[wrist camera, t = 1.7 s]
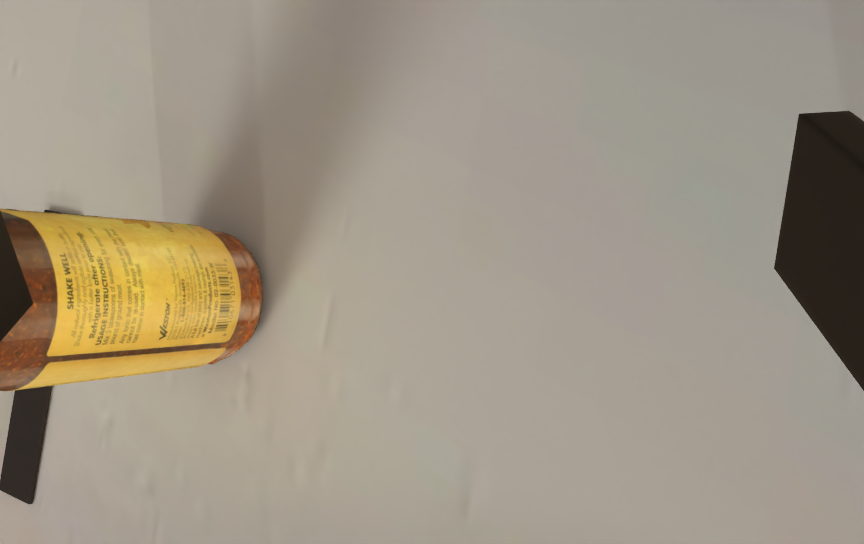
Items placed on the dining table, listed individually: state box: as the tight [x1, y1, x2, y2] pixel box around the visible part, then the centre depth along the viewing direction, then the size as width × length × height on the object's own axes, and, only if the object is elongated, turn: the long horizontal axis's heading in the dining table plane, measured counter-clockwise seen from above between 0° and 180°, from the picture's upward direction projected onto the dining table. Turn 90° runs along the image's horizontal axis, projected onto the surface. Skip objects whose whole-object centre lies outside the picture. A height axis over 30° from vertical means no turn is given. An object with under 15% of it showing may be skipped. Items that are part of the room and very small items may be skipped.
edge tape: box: [0, 210, 62, 504], centre depth 42 cm, size 15×2×1 cm, turn 169°
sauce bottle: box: [0, 209, 263, 391], centre depth 28 cm, size 6×6×20 cm
